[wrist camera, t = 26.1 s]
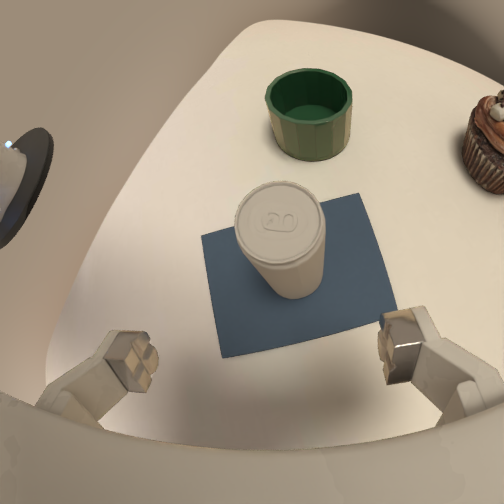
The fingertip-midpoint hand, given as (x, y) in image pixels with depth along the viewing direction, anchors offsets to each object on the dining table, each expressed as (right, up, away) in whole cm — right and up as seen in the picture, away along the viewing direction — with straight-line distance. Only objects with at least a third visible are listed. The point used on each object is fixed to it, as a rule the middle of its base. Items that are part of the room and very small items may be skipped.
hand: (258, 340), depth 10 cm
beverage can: (+4, +1, +17) cm, 17 cm away
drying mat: (+4, +1, +17) cm, 17 cm away
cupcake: (+27, +13, +15) cm, 34 cm away
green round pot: (+7, +16, +21) cm, 27 cm away
